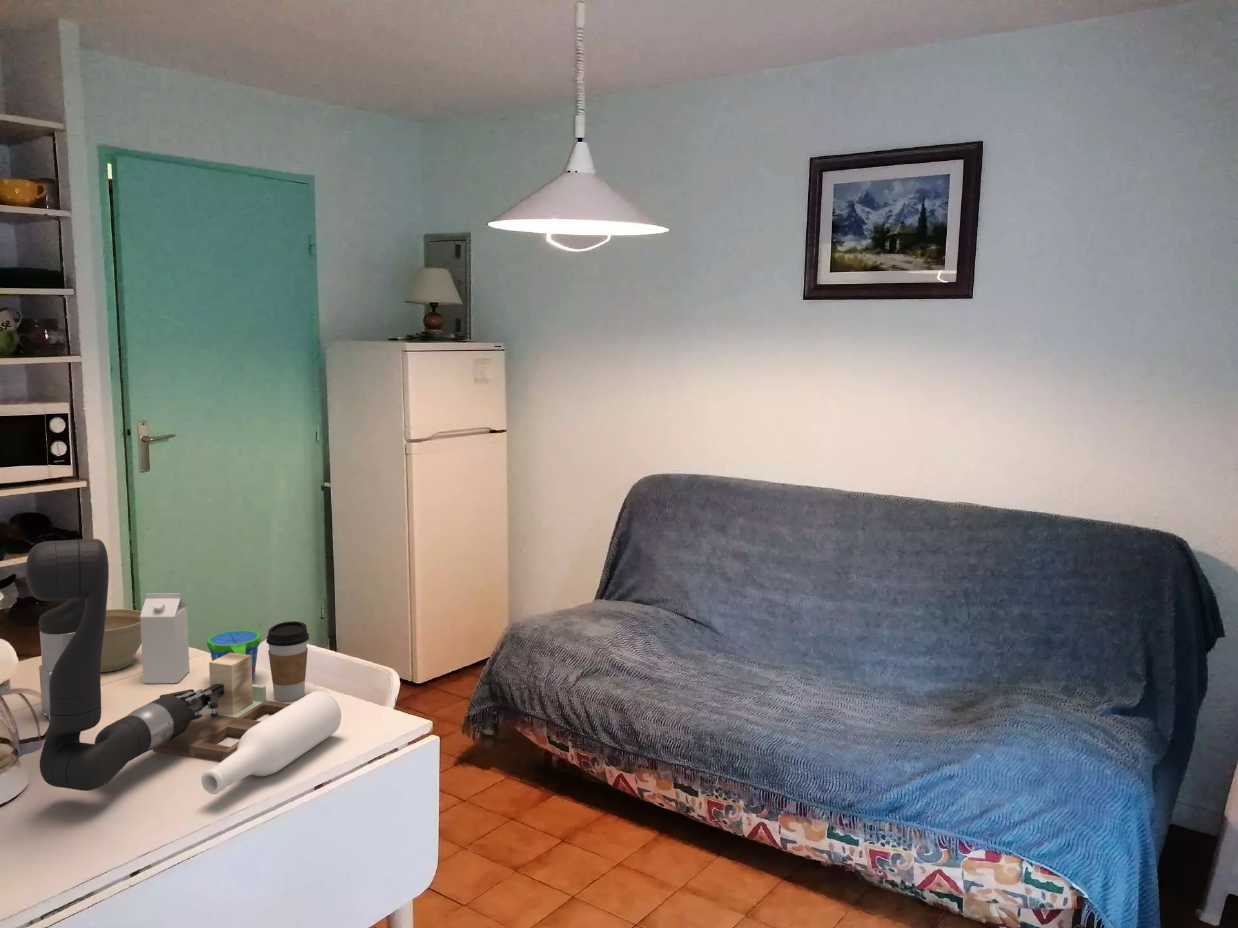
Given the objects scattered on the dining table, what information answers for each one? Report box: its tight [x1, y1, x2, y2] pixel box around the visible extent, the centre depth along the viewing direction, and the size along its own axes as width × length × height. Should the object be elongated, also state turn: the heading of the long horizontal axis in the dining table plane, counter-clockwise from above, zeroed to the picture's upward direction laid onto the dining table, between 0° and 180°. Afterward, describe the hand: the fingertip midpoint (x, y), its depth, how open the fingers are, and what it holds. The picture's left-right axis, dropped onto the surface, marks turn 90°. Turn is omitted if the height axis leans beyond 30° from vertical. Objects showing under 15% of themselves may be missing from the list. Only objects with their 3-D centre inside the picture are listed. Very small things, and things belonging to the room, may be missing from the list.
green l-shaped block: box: [218, 683, 267, 718], centre depth 185 cm, size 9×8×5 cm
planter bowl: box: [100, 608, 142, 673], centre depth 210 cm, size 16×16×11 cm
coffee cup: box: [265, 620, 310, 703], centre depth 194 cm, size 8×8×15 cm
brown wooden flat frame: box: [152, 699, 292, 763], centre depth 178 cm, size 22×16×2 cm
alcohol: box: [200, 691, 342, 795], centre depth 163 cm, size 9×9×30 cm
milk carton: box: [140, 592, 190, 684], centre depth 203 cm, size 7×7×19 cm
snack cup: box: [206, 629, 261, 682], centre depth 202 cm, size 16×10×10 cm
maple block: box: [208, 653, 253, 715], centre depth 183 cm, size 6×5×10 cm
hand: (220, 688), depth 181 cm, fingers closed
